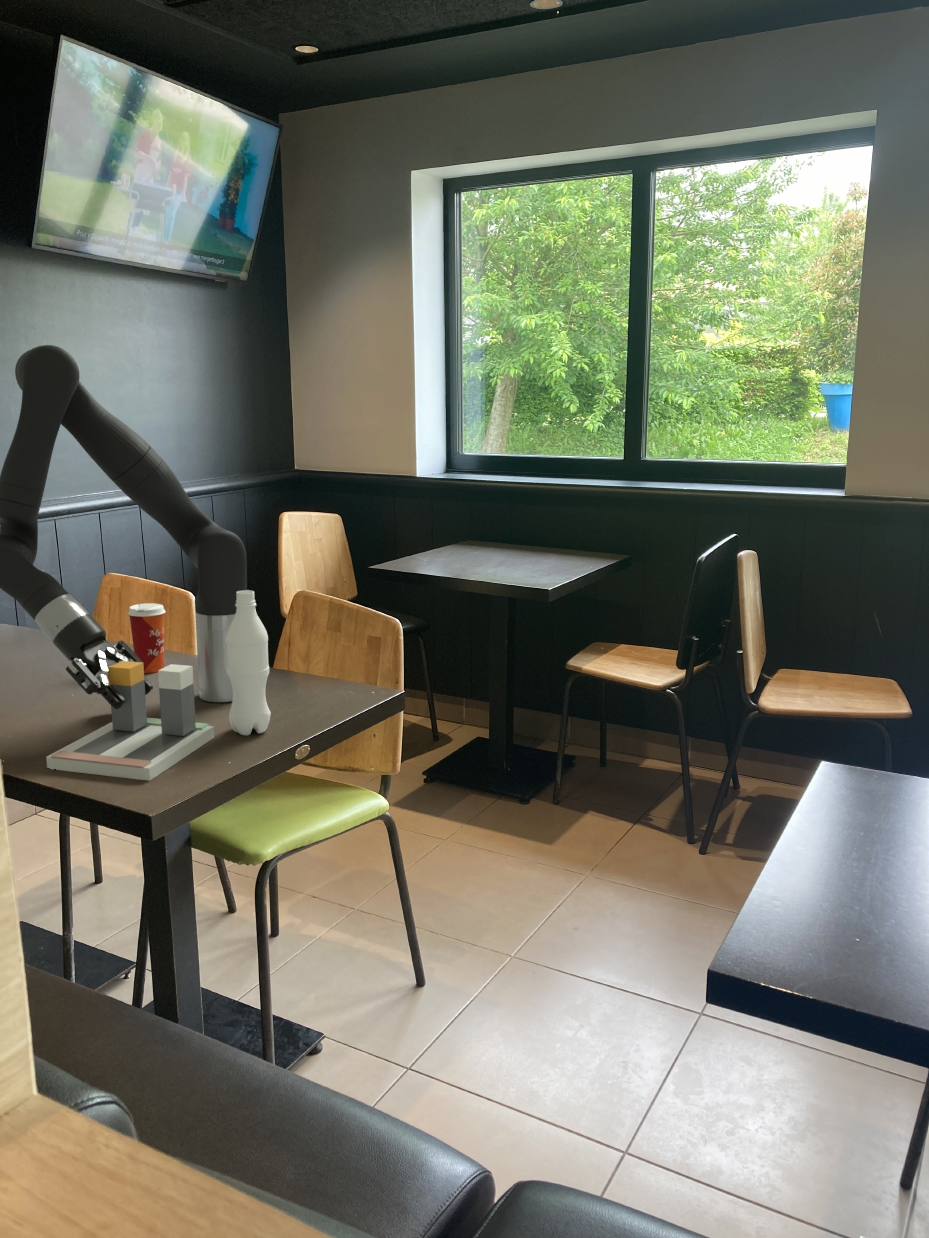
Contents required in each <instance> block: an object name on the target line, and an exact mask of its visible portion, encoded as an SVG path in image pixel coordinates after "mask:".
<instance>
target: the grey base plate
mask: <svg viewBox="0 0 929 1238" xmlns="http://www.w3.org/2000/svg"><path fill="white" fill-rule="evenodd" d="M193 669H194V668H193V665H183V664H171V663H170V664H168V665H166V666H164V668H162V669H160V670H158V672H157V675H158V677H157V678H158V689H159V690H158V692H159V706H160V709H159V710H160V718H156V717H155V718H154V717H147V725H145V726H143V727H141V728H140V729H138V730H136V731H134V732H131V731H122V730H113V725H112V721H111V722H109V723H107V724H105V725H104V726H101V727H100V728H97V729H96V730H94V731H92V732H90V733H88V734H86V735H85V736H82V737H81V738H79V739H77V740H76V741H73V742H72V743H70V744H68V745H66V746H64V747H62V748H60V749H58V750H56V751H54V752H52V753H50V754H49V755H47V756H46V768H50V769H49V770H54V769H56V771H63V772H71V773H81V774H89V775H96V776H97V775H98V776H106V777H113V778H114V777H115V778H122V779H131V780H132V779H133V780H141V781H149V782H151V781H152V780H154V779H155V778H157V777H158V776H160V774H162V773H164V772H165V771H166V770H168V769H169V768H171V767H173V766H174V765H176V764H177V763H179V762H181V761H182V760H183V759H184V758H186V757H187V756H190V754H191V753H193V752H195V751H196V750H198V749H199V748H200V747H203V745H205V744H207V743H208V742H210V741H211V740H213V739H214V738H215V726H213V725H210V724H209V723H205V722H204V723H203V722H196V710H195V709H196V708H195V690H194V689H195V687H194V670H193Z"/></svg>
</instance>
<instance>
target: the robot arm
mask: <svg viewBox="0 0 929 1238" xmlns="http://www.w3.org/2000/svg"><path fill="white" fill-rule="evenodd" d="M14 369H15V370H14V374H15V379H16V383H17V384H18V387H19V388H20V390H21V392H22V393H21V394H22V395H21V405H20V411H19V417H18V421H17V425H16V429H15V432H14V435H13V437H12V440H11V444H10V445H9V448H8V451H7V454H6V457H5V459H4V461H3V465H2V467H1V472H0V590H2V591H3V592H4V593H6V594H7V595H9V596H10V597H11V598H13V599H14V600H15V601H16V602H18V604H20V606H21V607H22V609H23V610H24V611H25V612H26V613H27V614H28V615H29V616H30V617H31V618H32V619H33V620H34V622H35V623H36V625H38V627H39V629H41V632H43V634H44V635H45V636H46V637H47V638H48V639H49V641H51V643H52V644H53V645H54V646H55V647H56V648H57V649H58V650H59V651H60V652H61V653H62V654H63V655H64V657H65V658H66V659H67V660H68V661H70V663H69V664H67V666H66V667H65V670H66V672H67V673H68V674H69V675H70V676H71V677H72V678H73V680H74V681H75V682H76V683H77V684H78V685H79V687H80V688H81V689H82V690H83V691H84V692H85V693H86V694H87V695H93V693H96V694H97V695H101V696H102V697H103V699H105V700H106V701H107V703H108V704H109V705H110V707H111V706H113V707H114V708H115V709H119V708H121V707H122V706H123V705H124V704H125V702H126V700H125V699H124V697H123V696H122V695H121V694H120V693H119V692H118V691H117V690H116V689H115V688H114V687H113V685H110V686H109V684H110V683H109V679H108V677H109V670H108V667H109V666H111V665H114V664H116V663H118V662H121V661H131V660H132V662H142V663H143V661H142V660H141V659H140V658H139V657H138V656H137V655H136V654H135V653H134V650H132V648H130V646H129V645H128V644H127V643H126V642H125V641H124V640H122V639H120V640H119V641H118V642H116V644H114V645H112V644H111V643H109V642H108V641H107V631H106V630H105V629H104V628H103V627H102V626H101V625H100V624H99V622H97V620H96V619H95V618H94V617H93V616H92V615H91V613H89V612H88V611H87V610H86V608H85V607H84V606H82V604H81V603H80V602H79V601H78V600H76V599H75V598H74V597H73V596H72V595H71V594H70V593H69V592H68V591H67V590H66V588H64V587H63V586H62V585H61V583H60V582H59V581H58V580H57V579H56V578H55V577H53V575H51V574H49V572H45V571H43V570H40V569H39V568H37V567H36V566H35V565H34V562H35V561H36V557H37V555H38V554H37V553H38V545H39V543H38V542H39V540H38V539H39V537H38V535H39V534H38V533H39V525H38V518H39V512H40V509H41V505H42V500H43V497H44V492H45V488H46V483H47V479H48V475H49V469H50V465H51V460H52V455H53V452H54V448H55V444H56V440H57V437H58V434H59V431H60V428H61V426H62V427H63V428H64V429H66V431H68V432H69V434H71V436H72V437H73V438H74V439H75V440H76V441H77V443H78V444H79V445H80V446H81V448H82V449H83V450H84V451H85V453H87V454H88V456H89V457H90V458H91V459H92V460H93V461H94V462H95V464H96V465H97V466H98V467H99V468H100V469H101V471H103V472H104V474H105V475H106V476H107V477H108V478H109V479H110V481H112V482H113V484H115V486H116V487H118V489H120V491H121V492H123V494H124V495H126V497H128V498H129V499H130V500H131V501H132V502H133V503H134V504H135V505H136V506H137V507H139V508H140V509H141V510H142V511H143V512H145V513H146V514H147V515H148V516H149V517H151V518H152V519H153V520H154V521H155V522H156V523H158V524H159V525H161V526H162V528H163V529H164V530H165V531H166V532H167V533H168V534H169V535H170V537H172V539H173V540H174V541H175V542H176V544H177V545H178V546H179V548H180V549H181V550H182V552H184V554H185V556H186V557H187V558H188V559H189V561H190V562H191V563H192V565H194V567H195V568H197V579H198V580H197V581H198V584H197V585H198V588H197V589H198V590H197V595H196V596H195V598H194V613H195V632H196V633H195V636H196V637H195V638H196V654H197V674H198V675H197V676H198V693H199V694H198V695H199V699H201V701H205V702H209V703H211V702H212V703H227V702H228V703H229V702H230V703H231V702H232V701H233V689H232V684H231V681H230V678H229V676H228V674H227V667H228V665H227V643H226V635H227V632H228V629H229V627H230V625H231V623H232V621H233V619H234V617H235V614H236V609H237V607H236V606H235V604H236V603H237V602H236V600H237V597H236V596H237V595H236V593H237V591H242V590H248V583H247V582H248V577H247V576H248V575H247V574H248V571H247V569H248V566H247V550H246V548H245V544H244V542H243V540H242V539H241V538H240V537H239V535H237V534H236V533H235V532H232V531H230V530H228V529H225V528H223V527H221V526H220V525H219V524H217V523H216V522H214V521H213V520H212V518H210V517H209V516H207V514H205V512H203V511H202V510H201V509H200V508H199V507H198V506H197V505H196V504H195V502H194V501H192V499H191V498H190V496H188V493H187V492H186V491H185V489H184V487H183V486H182V484H181V482H180V481H179V479H178V478H177V476H176V475H175V473H174V471H173V470H172V469H171V468H170V466H169V465H168V464H167V463H166V461H165V460H164V459H163V458H162V457H161V456H160V455H159V453H157V451H156V450H155V449H154V448H153V447H152V446H151V445H150V444H149V443H148V442H147V441H146V440H145V439H144V438H143V437H142V436H141V435H139V434H138V433H137V432H135V430H133V429H132V428H131V427H129V426H128V425H127V424H126V423H124V422H123V421H121V420H120V419H119V418H118V417H116V416H115V415H114V414H112V413H111V412H109V411H108V410H107V409H106V408H105V407H103V406H102V404H100V403H99V401H97V399H96V398H94V397H93V396H92V394H91V393H90V392H89V390H88V389H87V388H86V387H85V385H83V384H82V382H81V381H80V370H79V369H80V368H79V366H78V363H77V361H76V360H75V357H73V355H72V354H70V352H68V351H67V350H65V349H64V348H62V347H61V346H56V345H53V344H51V345H50V344H43V345H38V346H35V347H32V348H31V349H29V350H27V351H25V352H24V353H22V354H21V355H20V356H19V358H18V360H17V361H16V363H15V368H14ZM143 665H144V663H143ZM86 680H87V681H89V683H90V684H89V683H88V682H87V681H86ZM144 682H145V696H147V695H149V694H150V692H151V691H152V690H153V688H154V687H153V685H152V683H151V681H150V680H148V679H147V677H146V676H145V675H144Z"/></svg>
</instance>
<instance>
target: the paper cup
mask: <svg viewBox="0 0 929 1238" xmlns="http://www.w3.org/2000/svg"><path fill="white" fill-rule="evenodd" d="M166 612H167V611H166V609H165V608H164V605H163V604H160V603H151V602H150V603H149V602H147V603H138V604H137V603H136V604H134V605H131V606H129V611H128V612H127V615H128V616H129V623H130V631H131V637H132V647H133V652H134V653H135V654H136V655H137V656H138V657H139V658H140V659H141V660H142V661H143V663H144V665H143V666H144V674H155V673H156V674H157V673H158V670H160V669H162V668H164V667H165V614H166Z"/></svg>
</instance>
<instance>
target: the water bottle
mask: <svg viewBox="0 0 929 1238" xmlns="http://www.w3.org/2000/svg"><path fill="white" fill-rule="evenodd" d="M236 595H237V596H236V597H237V600H236V602H237V603H236V604H235V606H236V607H237V609H236V614H235V617H234V619H233V621H232V623H231V625H230V627H229V629H228V632H227V635H226V643H227V665H228V667H227V674H228V676H229V678H230V681H231V684H232V689H233V701H231V705H230V710H229V713H228V720H229V723H230V727H231V729H232V730H233V732H235V733H238V734H240V735H242V736H249V735H251V733H252V730H253V729H254V730H255V732H256V733H257V734H263V733H264V732H266V730H267V728H268V727H269V724H270V720H271V715H272V713H271V710H270V709H269V706H268V703H267V696H266V686H267V680H268V677H269V676H270V675H269V674H270V665H269V647H268V646H269V642H268V641H269V635H268V632H267V629H266V627H265V626H264V624H263V622H262V620H261V619H260V617H259V616H258V615H259V614H258V613H257V611H256V607H257V603H256V599H255V591H254V590H249V589H247V590H242V591H237V593H236Z"/></svg>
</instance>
